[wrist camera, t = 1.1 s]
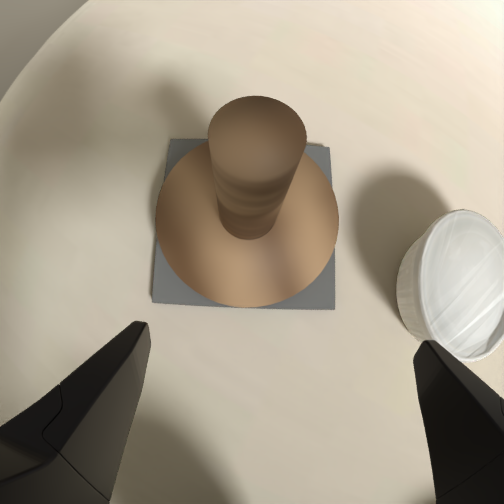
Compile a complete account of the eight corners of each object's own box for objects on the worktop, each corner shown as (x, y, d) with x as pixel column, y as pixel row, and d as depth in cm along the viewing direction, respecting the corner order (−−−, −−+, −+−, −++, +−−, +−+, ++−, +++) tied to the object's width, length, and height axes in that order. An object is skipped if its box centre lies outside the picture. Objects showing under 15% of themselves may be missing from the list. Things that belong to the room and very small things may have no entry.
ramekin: (452, 377, 22) (490, 384, 17) (359, 318, 23) (391, 317, 18) (492, 269, 24) (529, 260, 19) (413, 203, 25) (446, 180, 20)
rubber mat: (332, 309, 23) (334, 309, 22) (154, 302, 22) (151, 302, 22) (327, 150, 25) (329, 147, 25) (171, 142, 25) (170, 139, 24)
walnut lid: (223, 344, 21) (212, 370, 10) (129, 197, 23) (65, 115, 12) (366, 240, 23) (452, 184, 12) (267, 116, 25) (283, 12, 14)
